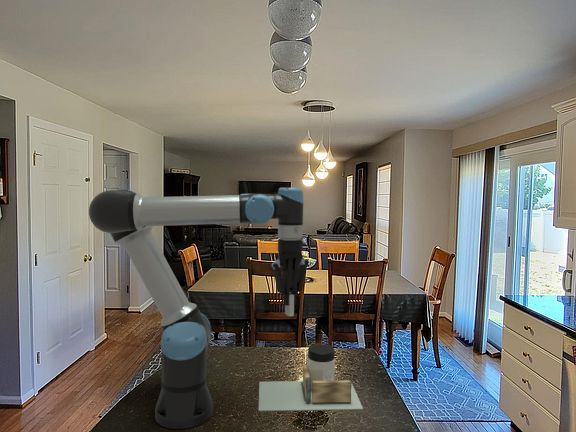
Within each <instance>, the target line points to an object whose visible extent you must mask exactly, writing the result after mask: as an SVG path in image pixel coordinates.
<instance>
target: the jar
mask: <svg viewBox="0 0 576 432" xmlns="http://www.w3.org/2000/svg"><path fill="white" fill-rule="evenodd" d="M335 355H336V352H335V348H334V347H333V346H331V345H329V344H322V343H317V344H316V343H315V344H312V345H309V346H308V348H307V360H306V361H307V363H306V364H307V367H308V371H309V376H310V378H311V391H312V381H335V370H336V368H335V367H336V359H335Z"/></svg>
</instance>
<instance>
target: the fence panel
mask: <svg viewBox="0 0 576 432" xmlns="http://www.w3.org/2000/svg"><path fill="white" fill-rule="evenodd" d="M307 377H310V376H309V371H308V367H307V363H303V364H302V381H303V386H304V392H305V398H306V378H307Z"/></svg>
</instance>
